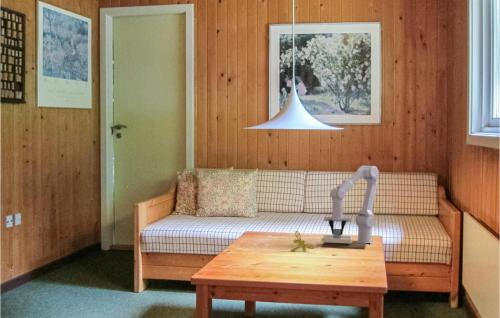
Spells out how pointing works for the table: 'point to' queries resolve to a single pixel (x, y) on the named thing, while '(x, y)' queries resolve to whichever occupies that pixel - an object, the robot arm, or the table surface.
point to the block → (337, 233)
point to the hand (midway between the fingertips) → (337, 234)
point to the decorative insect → (301, 243)
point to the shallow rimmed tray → (334, 240)
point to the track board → (343, 245)
